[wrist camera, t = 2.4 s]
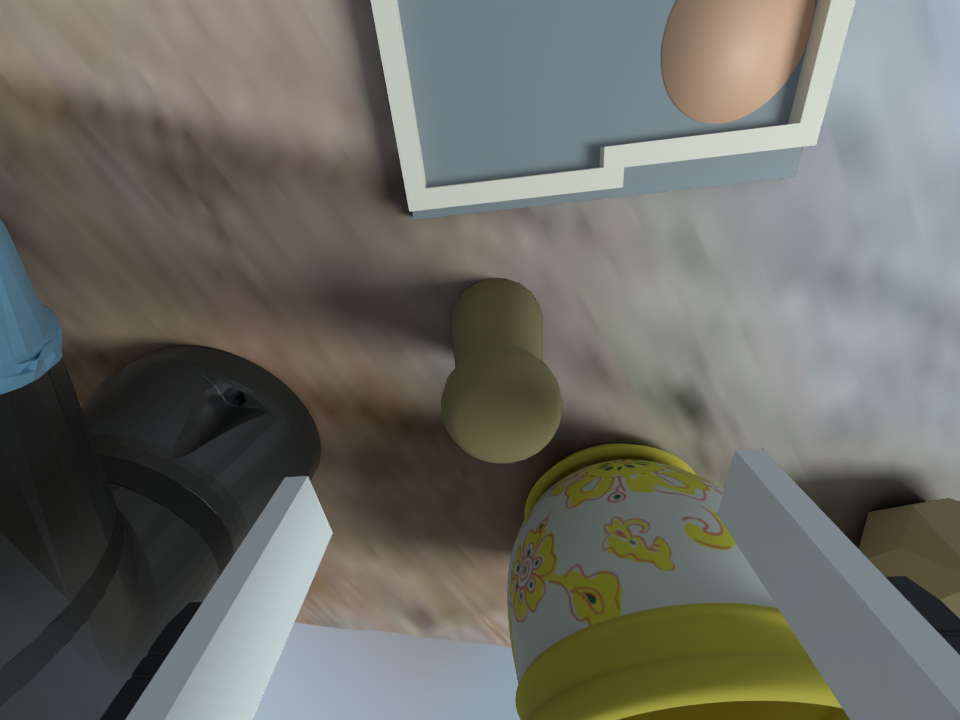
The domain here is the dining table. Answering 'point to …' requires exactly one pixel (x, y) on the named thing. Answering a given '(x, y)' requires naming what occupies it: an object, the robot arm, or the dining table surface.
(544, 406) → the cork
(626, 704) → the flowerpot
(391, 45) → the grey shallow tray
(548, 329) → the dining table surface
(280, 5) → the dining table surface
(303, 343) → the dining table surface
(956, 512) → the low-poly potato
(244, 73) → the dining table surface
